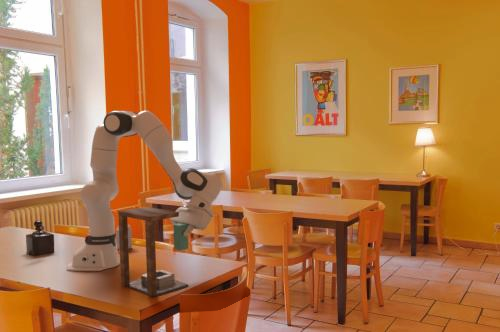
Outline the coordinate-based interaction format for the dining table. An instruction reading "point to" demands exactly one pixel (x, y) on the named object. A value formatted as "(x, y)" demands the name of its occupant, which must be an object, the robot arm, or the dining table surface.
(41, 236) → the black block with knob
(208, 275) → the dining table surface
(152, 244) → the open wooden frame
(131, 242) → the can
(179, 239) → the post
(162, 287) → the socket
